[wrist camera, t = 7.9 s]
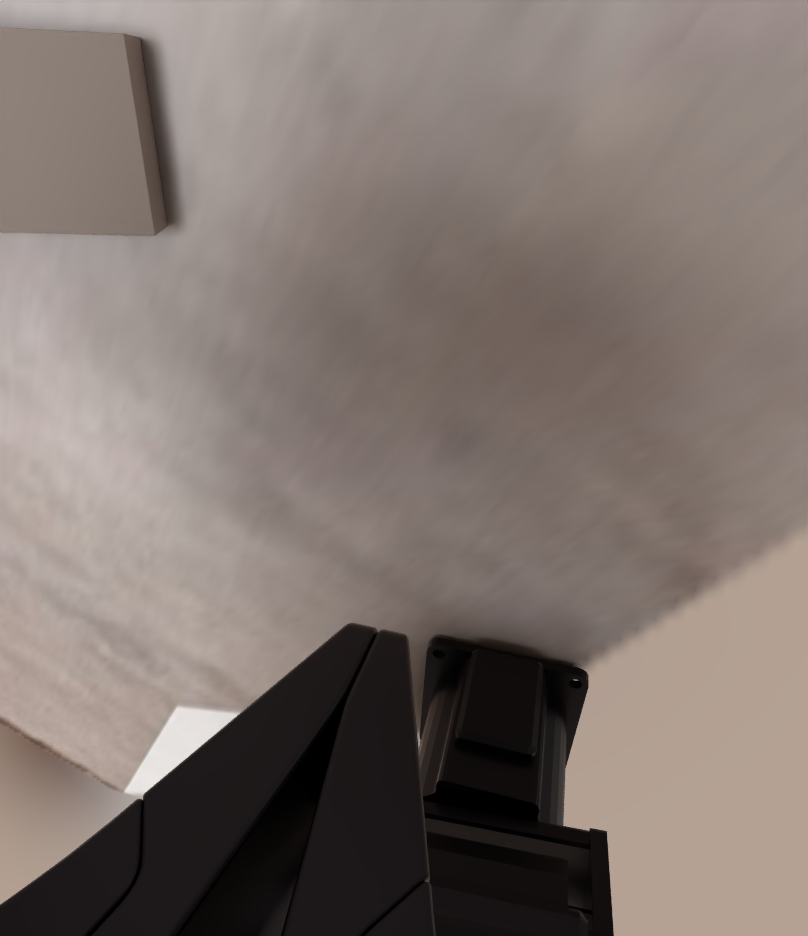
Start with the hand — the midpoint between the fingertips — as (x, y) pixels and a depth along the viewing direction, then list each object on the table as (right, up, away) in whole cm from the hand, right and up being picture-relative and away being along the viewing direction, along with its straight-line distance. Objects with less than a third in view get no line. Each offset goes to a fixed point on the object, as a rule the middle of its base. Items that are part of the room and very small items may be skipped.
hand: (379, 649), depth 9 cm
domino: (-7, +12, +10) cm, 17 cm away
